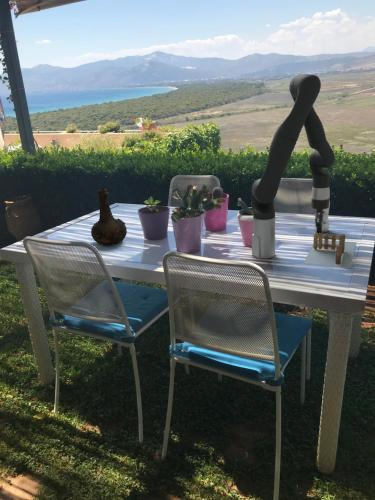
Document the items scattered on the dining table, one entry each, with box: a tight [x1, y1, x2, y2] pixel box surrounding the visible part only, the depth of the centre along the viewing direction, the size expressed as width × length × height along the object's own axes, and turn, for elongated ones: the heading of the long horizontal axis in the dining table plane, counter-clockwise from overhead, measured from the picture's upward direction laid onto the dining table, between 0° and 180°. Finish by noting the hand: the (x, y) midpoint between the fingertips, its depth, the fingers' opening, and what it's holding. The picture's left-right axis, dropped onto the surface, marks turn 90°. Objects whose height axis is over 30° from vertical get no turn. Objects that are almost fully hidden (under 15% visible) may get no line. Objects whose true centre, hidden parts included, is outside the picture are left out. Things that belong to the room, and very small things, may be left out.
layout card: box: [303, 239, 357, 269], centre depth 178 cm, size 31×18×1 cm, turn 155°
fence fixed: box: [335, 234, 346, 264], centre depth 170 cm, size 14×2×8 cm, turn 155°
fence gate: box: [312, 232, 346, 250], centre depth 179 cm, size 13×2×7 cm, turn 67°
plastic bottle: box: [314, 200, 331, 233], centre depth 202 cm, size 6×7×20 cm
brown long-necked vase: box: [90, 188, 128, 247], centre depth 208 cm, size 18×18×28 cm
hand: (319, 234), depth 186 cm, fingers closed
